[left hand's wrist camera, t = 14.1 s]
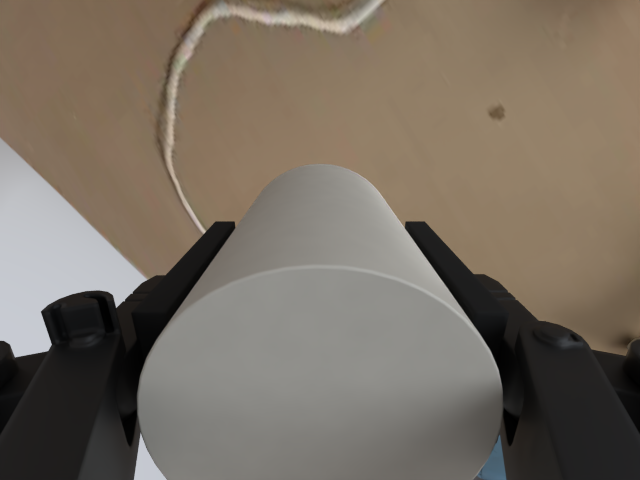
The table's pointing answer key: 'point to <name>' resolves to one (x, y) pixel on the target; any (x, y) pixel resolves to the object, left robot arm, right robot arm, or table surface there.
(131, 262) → the table surface
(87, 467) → the left robot arm
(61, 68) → the table surface
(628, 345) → the dog toy
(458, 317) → the can
